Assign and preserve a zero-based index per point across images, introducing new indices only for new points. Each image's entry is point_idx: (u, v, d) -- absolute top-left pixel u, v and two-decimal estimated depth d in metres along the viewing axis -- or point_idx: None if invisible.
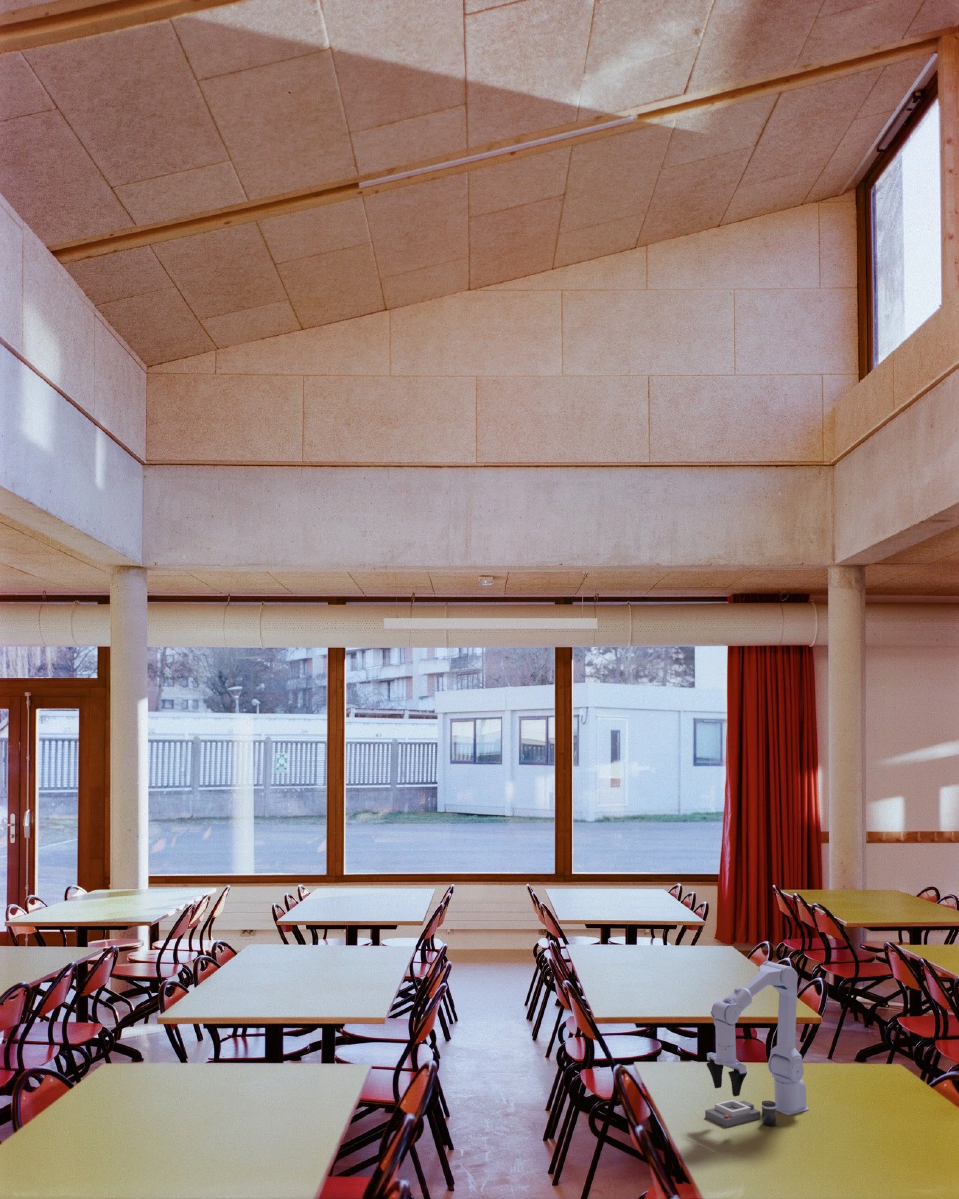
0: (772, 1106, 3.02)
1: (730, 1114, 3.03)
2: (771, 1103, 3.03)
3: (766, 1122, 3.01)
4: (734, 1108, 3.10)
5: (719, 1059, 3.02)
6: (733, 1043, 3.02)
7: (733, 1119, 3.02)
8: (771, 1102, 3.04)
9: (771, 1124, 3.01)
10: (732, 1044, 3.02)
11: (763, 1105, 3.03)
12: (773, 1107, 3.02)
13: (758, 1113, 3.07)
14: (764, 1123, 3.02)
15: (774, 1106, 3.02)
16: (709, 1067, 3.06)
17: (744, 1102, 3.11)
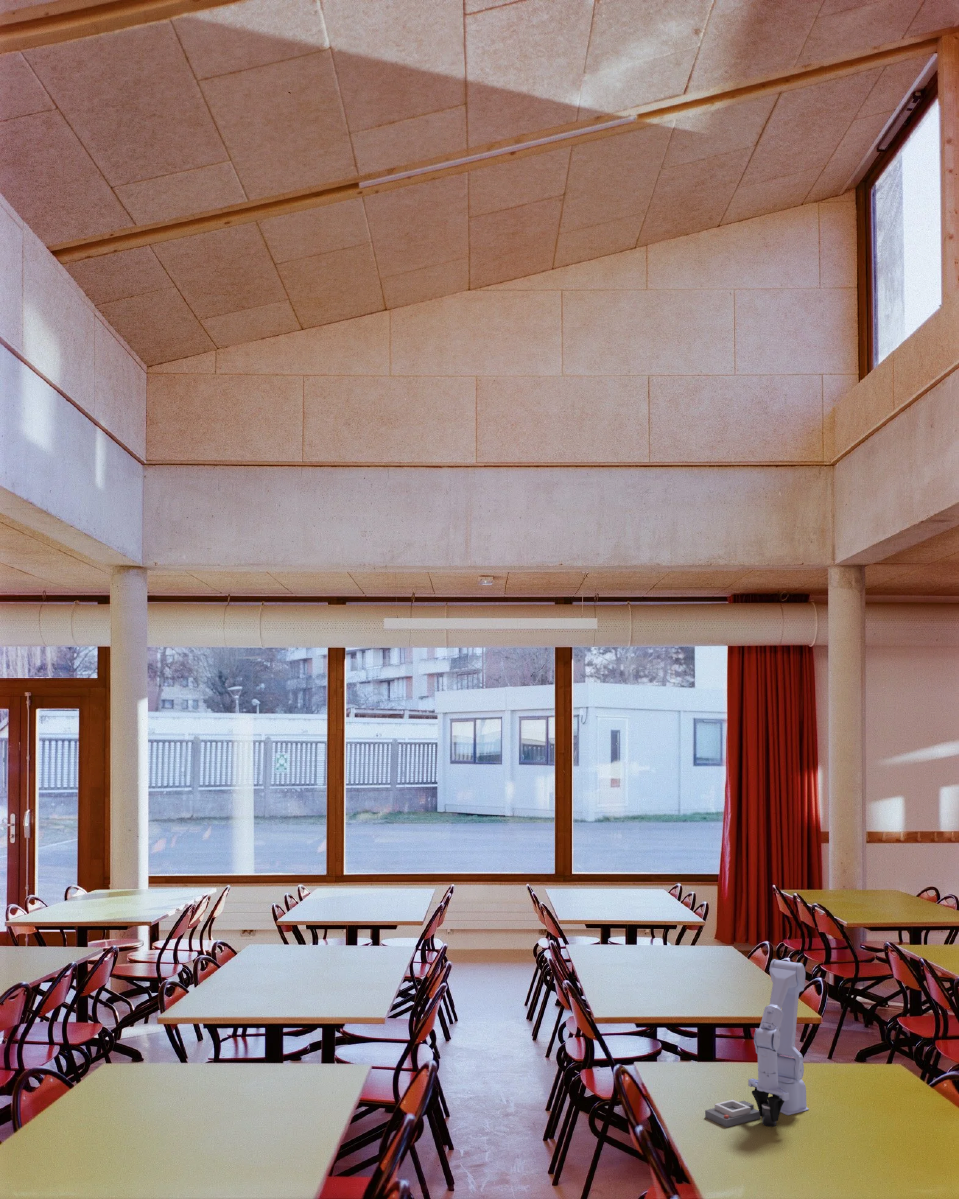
0: None
1: (730, 1114, 3.03)
2: None
3: (766, 1122, 3.01)
4: (734, 1108, 3.10)
5: (761, 1086, 3.03)
6: (777, 1069, 3.03)
7: (733, 1119, 3.02)
8: None
9: (771, 1124, 3.01)
10: (776, 1070, 3.03)
11: (763, 1105, 3.03)
12: None
13: (758, 1113, 3.07)
14: (764, 1123, 3.02)
15: None
16: (754, 1095, 3.05)
17: (744, 1102, 3.11)
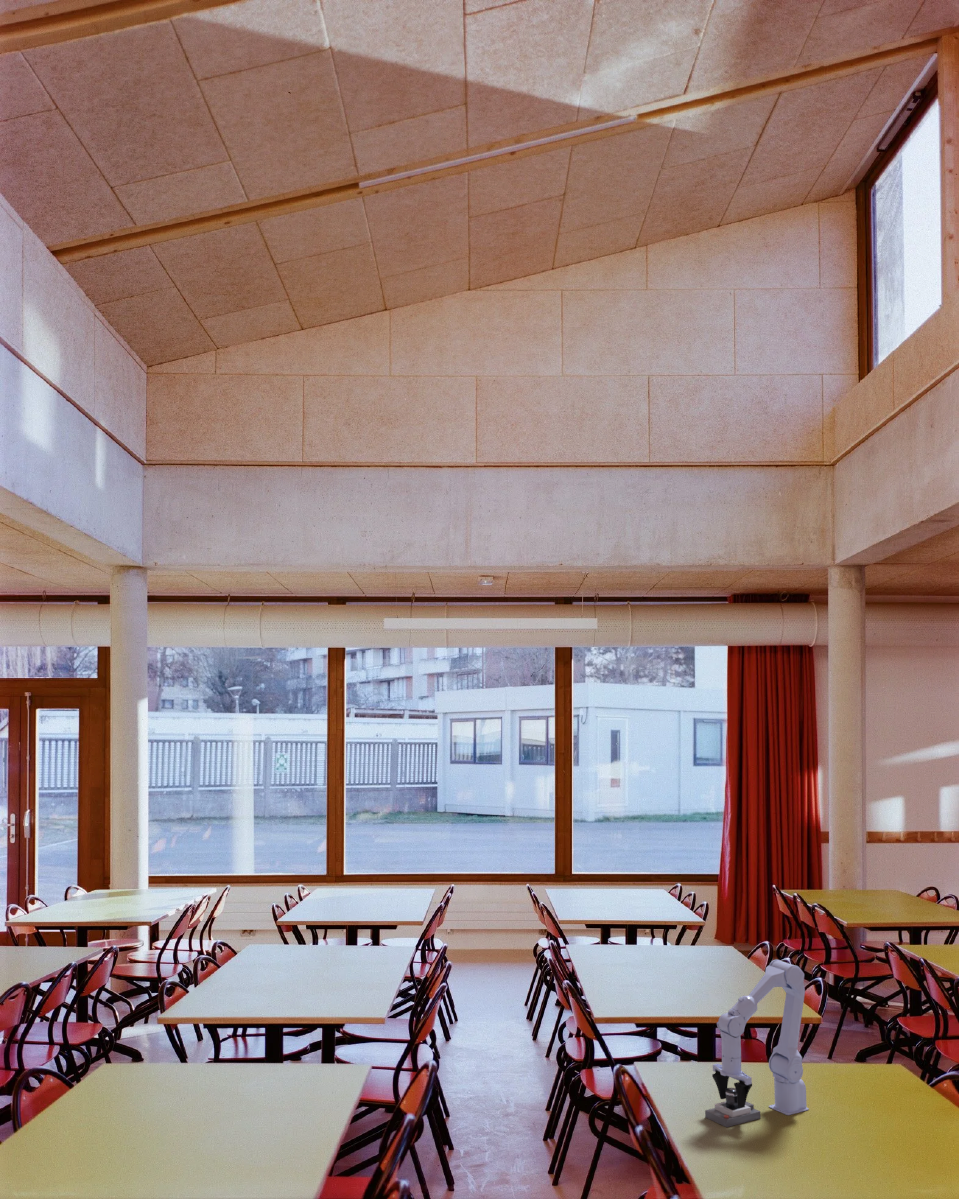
0: (735, 1093, 3.06)
1: (730, 1114, 3.03)
2: (734, 1090, 3.08)
3: None
4: None
5: (725, 1070, 3.08)
6: (737, 1055, 3.07)
7: (733, 1119, 3.02)
8: (735, 1089, 3.09)
9: None
10: (736, 1056, 3.07)
11: (726, 1092, 3.08)
12: (735, 1094, 3.06)
13: (758, 1113, 3.07)
14: None
15: None
16: (715, 1078, 3.11)
17: None
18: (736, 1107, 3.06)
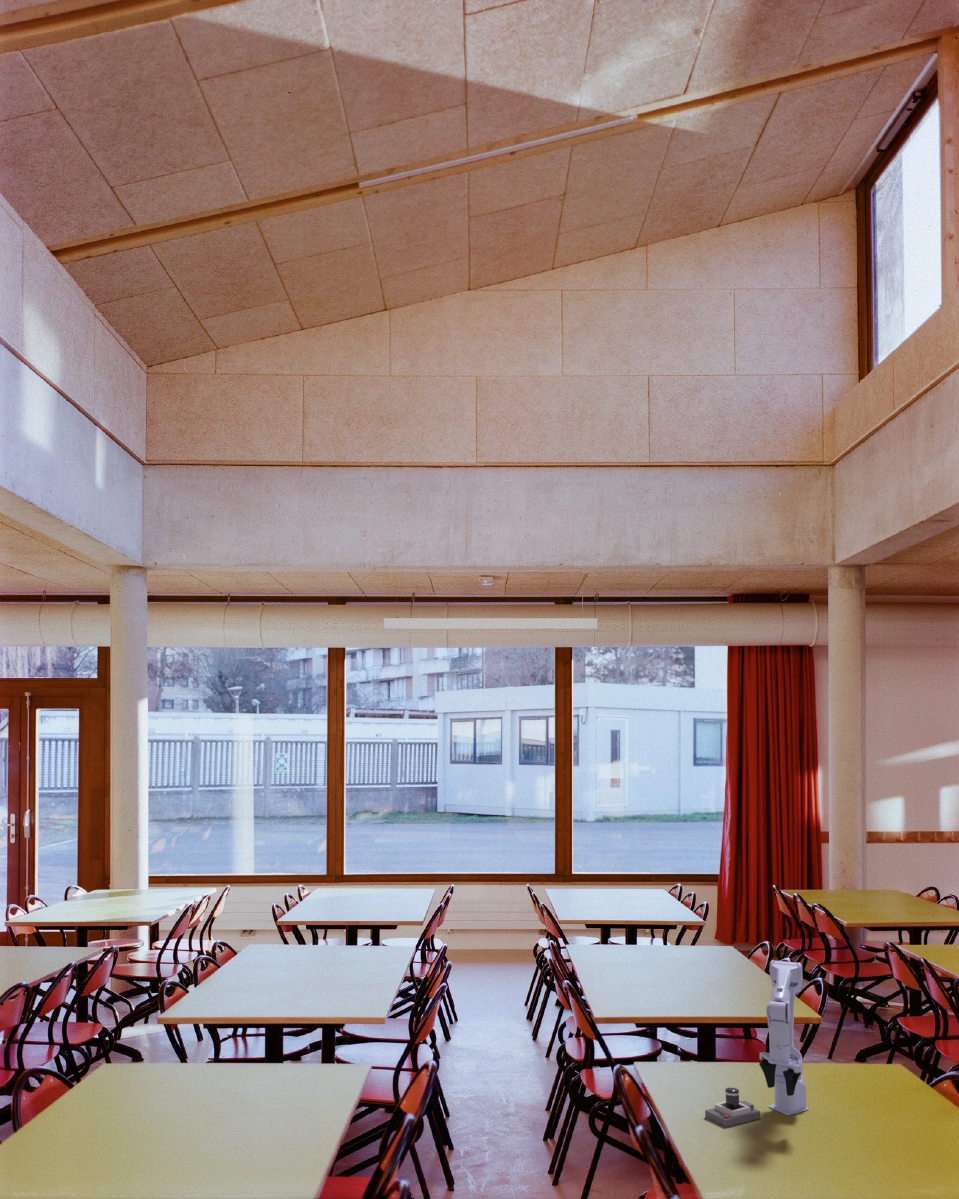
0: (734, 1092, 3.06)
1: (730, 1114, 3.03)
2: (734, 1090, 3.08)
3: None
4: None
5: (773, 1058, 3.02)
6: (788, 1041, 3.03)
7: (733, 1119, 3.02)
8: (735, 1089, 3.09)
9: None
10: (788, 1042, 3.03)
11: (726, 1091, 3.08)
12: (735, 1094, 3.06)
13: (758, 1113, 3.07)
14: None
15: (736, 1093, 3.07)
16: (762, 1066, 3.06)
17: (744, 1102, 3.11)
18: (736, 1107, 3.06)
